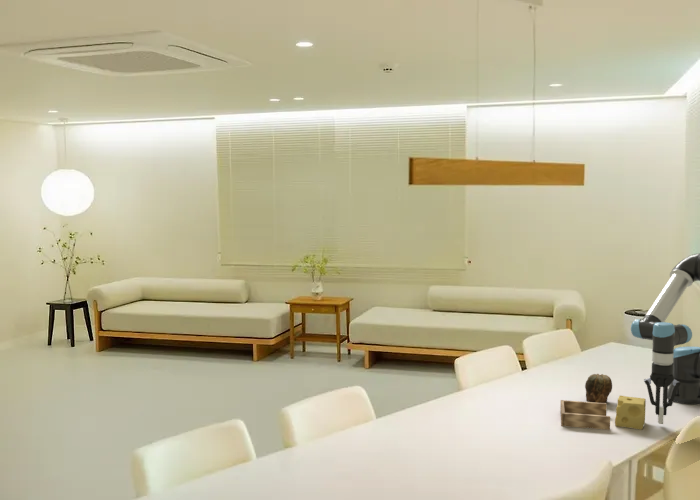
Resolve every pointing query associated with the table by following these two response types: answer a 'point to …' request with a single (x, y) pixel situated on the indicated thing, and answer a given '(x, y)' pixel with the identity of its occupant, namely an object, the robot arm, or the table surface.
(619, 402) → the cheese
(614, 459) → the table surface
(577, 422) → the corral
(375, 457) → the table surface
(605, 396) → the shell
